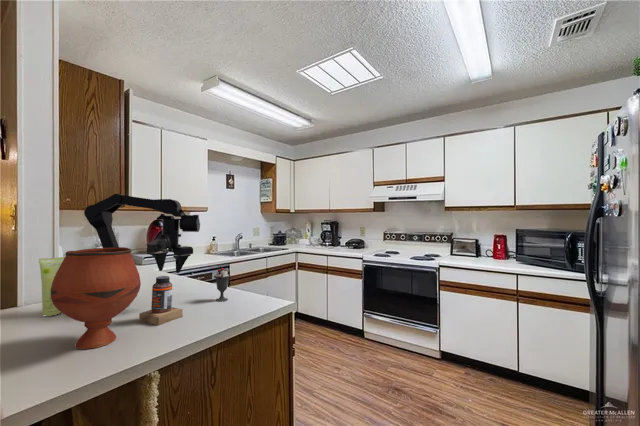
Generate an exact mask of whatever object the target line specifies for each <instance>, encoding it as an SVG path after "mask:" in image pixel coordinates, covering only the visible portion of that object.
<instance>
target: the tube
mask: <svg viewBox="0 0 640 426" xmlns="http://www.w3.org/2000/svg"><path fill="white" fill-rule="evenodd" d="M64 258H65V256H62V257H61V256H58V257H45V258H38V263H39V269H40V270H39V271H40V280H41V301H42V304H41V305H42V306H41V307H42V316H43V315H46V316H45V317H53V316H52V315H54V316H57V314H58V315H61V314H62V313H61V312H60V311H59V310H58V309H57V308H56V307H55V306H54V304H53V302H52V300H51V286H52V282H53V280H54V277H55V275H56V273H57V271H58V269H59V267H60V265H61V263H62V262H63V260H64ZM60 313H61V314H60Z"/></svg>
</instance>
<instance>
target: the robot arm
mask: <svg viewBox="0 0 640 426" xmlns="http://www.w3.org/2000/svg"><path fill="white" fill-rule="evenodd" d="M122 206H131V207H137V208H143V209H150V210H155V211H157V212H159V213H160V215H159V216H158V217H156V220H158V221H159V220H160V221H162V227H161V229H162V231H161V233H159V235H158V238H157V239H154V240H151V241H150V242H147V243H146V253H148V255H150V256H152V257H153V258H154V259H155V263H156V266H157V268H158V271H159V272H162V271H163V269H164V267H165V262H166V258H167V254H168V253H173V254H174V255H172V257H173V259H175V272H176V274H179V273H180V272H181V270H182V268H183V266H184V265H185V263H186V262H187V260H188V259H189V257H191V256H192V255H193V254H194V248H193V246H187V245H184V246H183V245H182V244H180V243H179V241H180V239H179V238H181V237H182V234H181V233H180V230H182V233H192V232H193V233H199V231H200V229H201V222H200V217H199V216H200V215H199V214H191V215H190V214H186V213H185V212H184V210H183V209H182V204H181V203H180V202H179V201H178V200H175V199H171V198H161V199H159V198H158V199H152V198H151V199H150V198H145V197H136V196H130V195H126V194H120V193H113V194H112V195H111V196H109V197H107V198H104V199H102V200H100V201H98V202H96V203H95V204H90V205H88V206H87V207H86V208H85V210H84V211H83V213H84V216H85V218H86V220H87V221H88V224H89V225H91V226H92V227H93V228H94V229H95V231H96V234H97V237H98V238H99V241H100V244H101V248H110V247H120V246H119V243H118V240H117V237H116V235H115V232H114V230H113V229H114V228H113V220H114V219H113V214H115V212H117V211H118V210H119V209H120V208H121V207H122Z"/></svg>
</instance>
